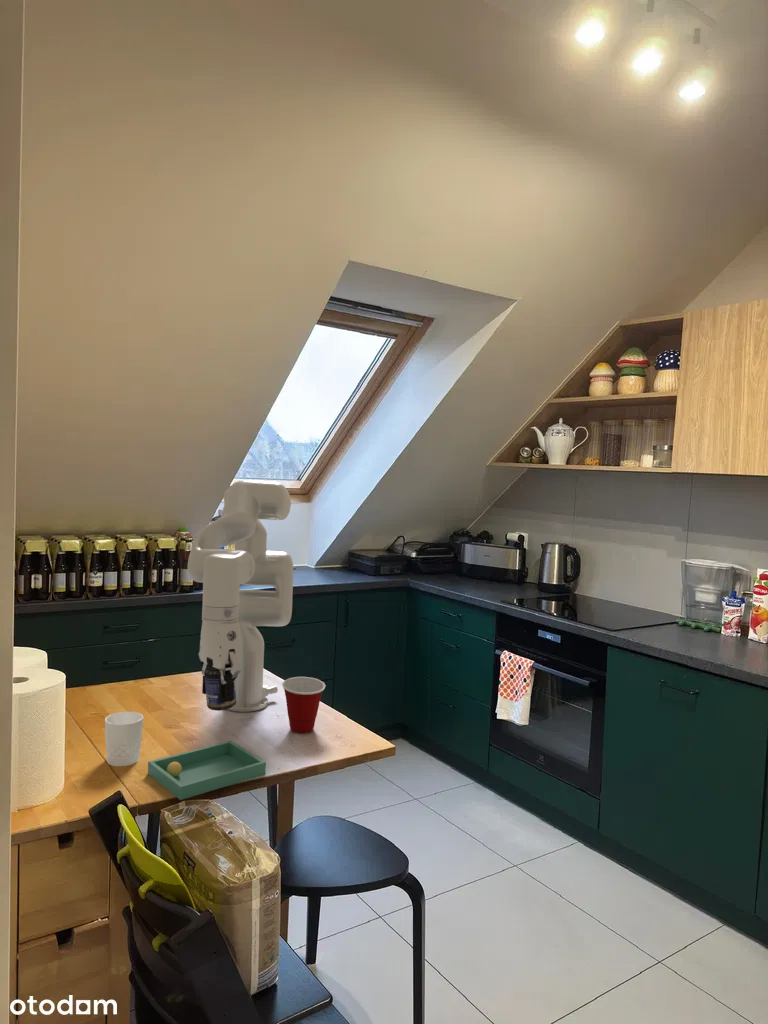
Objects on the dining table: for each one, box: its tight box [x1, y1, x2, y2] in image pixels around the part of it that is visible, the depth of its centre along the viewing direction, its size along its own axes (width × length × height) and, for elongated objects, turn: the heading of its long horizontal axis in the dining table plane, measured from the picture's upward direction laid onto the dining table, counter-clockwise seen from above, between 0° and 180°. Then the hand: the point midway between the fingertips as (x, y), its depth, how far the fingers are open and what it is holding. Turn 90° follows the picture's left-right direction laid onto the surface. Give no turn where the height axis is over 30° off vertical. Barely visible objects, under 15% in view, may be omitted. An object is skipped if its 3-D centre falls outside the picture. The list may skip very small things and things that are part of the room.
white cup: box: [104, 711, 144, 767], centre depth 159 cm, size 8×8×10 cm
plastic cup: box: [281, 676, 326, 735], centre depth 183 cm, size 11×11×12 cm
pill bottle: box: [204, 657, 236, 712], centre depth 154 cm, size 6×6×11 cm
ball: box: [167, 762, 182, 777], centre depth 152 cm, size 3×3×3 cm
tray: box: [147, 740, 267, 801], centre depth 154 cm, size 20×15×3 cm
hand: (217, 696), depth 154 cm, fingers closed on pill bottle, 6 cm apart
